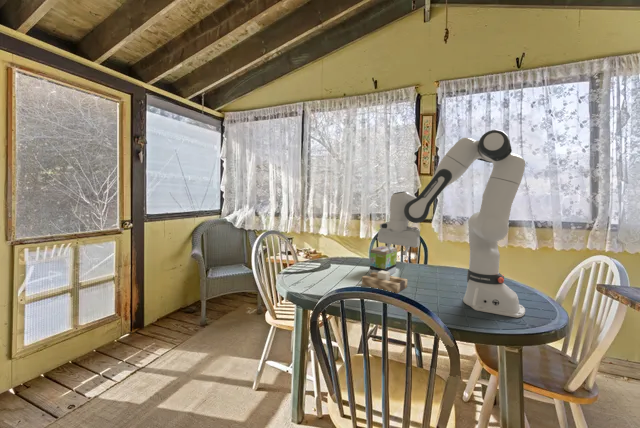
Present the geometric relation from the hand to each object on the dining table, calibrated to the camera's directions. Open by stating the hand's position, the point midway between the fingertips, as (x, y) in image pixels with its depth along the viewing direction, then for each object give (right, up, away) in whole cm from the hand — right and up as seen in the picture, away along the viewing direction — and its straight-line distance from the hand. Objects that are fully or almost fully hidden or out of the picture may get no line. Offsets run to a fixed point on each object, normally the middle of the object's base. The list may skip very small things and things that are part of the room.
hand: (397, 253), depth 144 cm
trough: (-5, -17, +6) cm, 18 cm away
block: (-6, -17, +6) cm, 19 cm away
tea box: (-1, -15, +27) cm, 31 cm away
